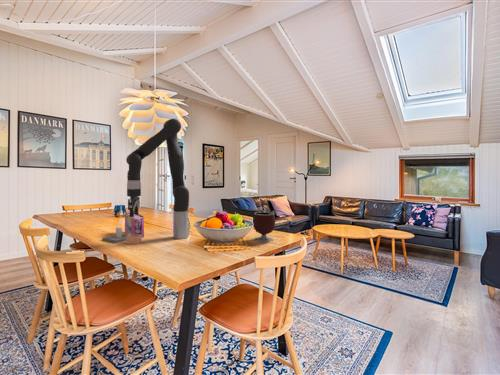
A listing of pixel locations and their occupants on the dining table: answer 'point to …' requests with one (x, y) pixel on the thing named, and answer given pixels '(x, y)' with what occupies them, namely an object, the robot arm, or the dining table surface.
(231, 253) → the dining table surface
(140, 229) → the gum box
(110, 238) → the board
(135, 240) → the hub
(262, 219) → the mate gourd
